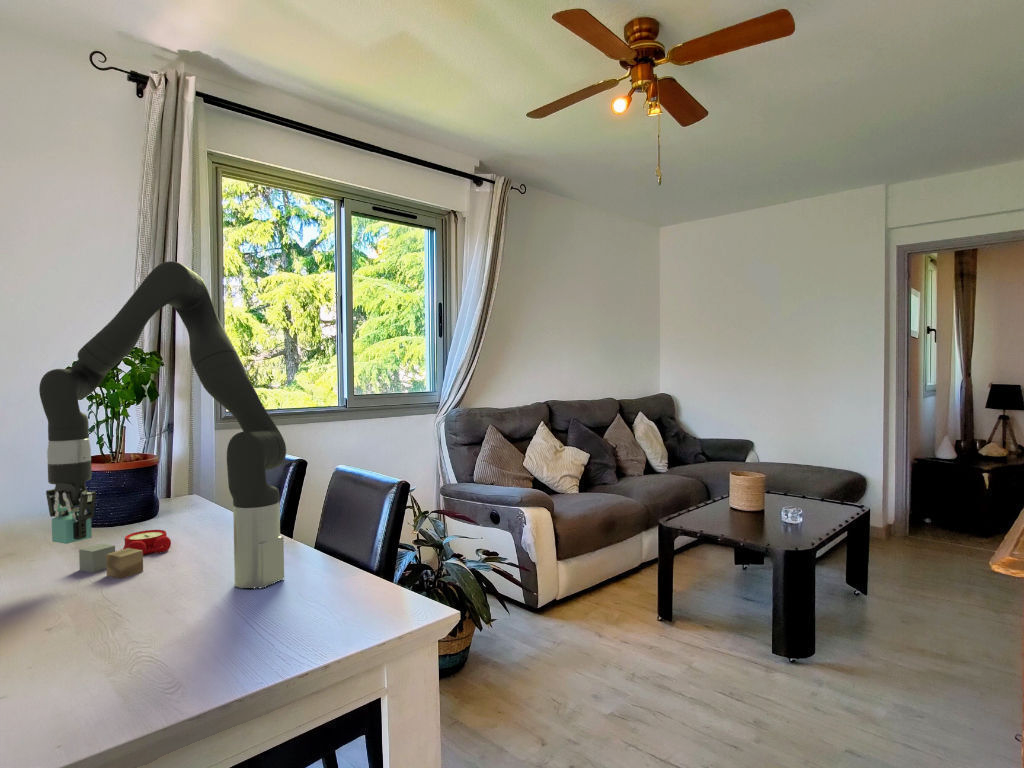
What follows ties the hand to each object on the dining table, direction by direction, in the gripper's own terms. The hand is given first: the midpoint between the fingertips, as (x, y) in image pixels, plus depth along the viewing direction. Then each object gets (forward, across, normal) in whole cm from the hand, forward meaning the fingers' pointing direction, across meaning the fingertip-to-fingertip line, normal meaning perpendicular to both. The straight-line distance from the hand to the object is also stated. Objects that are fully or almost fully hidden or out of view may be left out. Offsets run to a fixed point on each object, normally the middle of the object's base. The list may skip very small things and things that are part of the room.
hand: (72, 537), depth 124 cm
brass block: (+10, -5, -8) cm, 14 cm away
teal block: (+1, 0, 0) cm, 1 cm away
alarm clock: (+10, +7, -21) cm, 25 cm away
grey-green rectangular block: (+10, +5, -8) cm, 14 cm away
